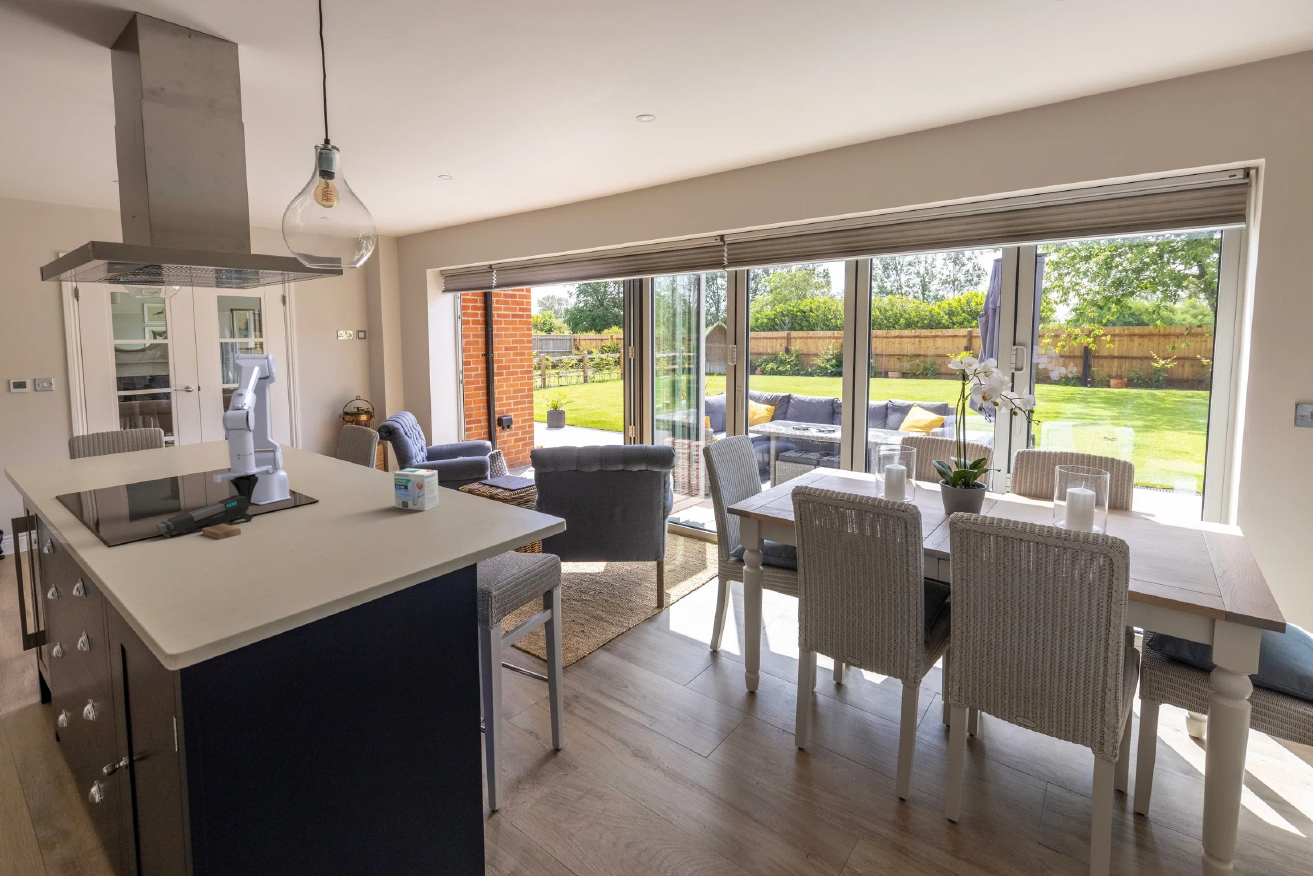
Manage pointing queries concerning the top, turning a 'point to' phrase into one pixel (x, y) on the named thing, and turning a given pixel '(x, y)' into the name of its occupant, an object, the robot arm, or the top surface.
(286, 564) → the top surface
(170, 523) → the gun
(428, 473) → the light bulb box
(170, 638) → the top surface
